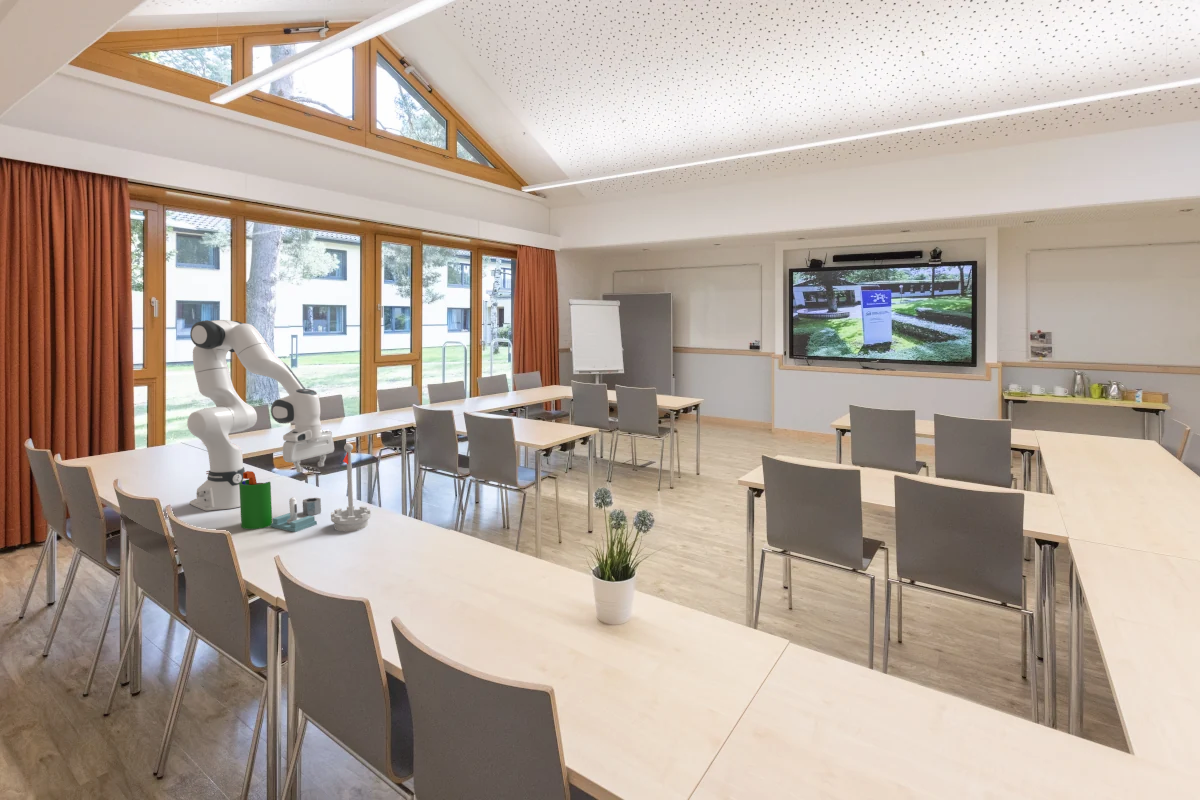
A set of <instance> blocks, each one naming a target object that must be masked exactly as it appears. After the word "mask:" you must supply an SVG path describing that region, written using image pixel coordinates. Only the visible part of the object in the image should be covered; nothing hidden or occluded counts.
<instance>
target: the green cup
mask: <svg viewBox="0 0 1200 800" xmlns="http://www.w3.org/2000/svg"><path fill="white" fill-rule="evenodd" d="M243 479H246V480H244V481H241V482H240V483H239V489H240V523H241V524H240V526H241V529H245V530H257V529H259V530H260V529H262V528H267V527H271V523H273V512H272V509H273V508H272V491H271V490H272V487H271V481H267V482H257V477H256V474H255V472H254V471H251V470H250V471H249V470H247V471H246V470H245V472H244V473H243Z"/></svg>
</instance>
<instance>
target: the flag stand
mask: <svg viewBox="0 0 1200 800" xmlns="http://www.w3.org/2000/svg"><path fill="white" fill-rule="evenodd" d="M343 448H344V449H343V450H344V451H345V452H346V454H345V456H344V458H343V460H342V462H343V463H345V464H346V476H347V477H346V479H347V500H348V503H347V504H348V506H346V509H344V510H342V508H336V509H334V511H333V512H332V511H331V512H330V520H331V522H332V523H333V524H334V530H336V531H339V532H353V531H359V530H362V529H365V528H366V527H367V526H368V525H369V519H370V518H371V515H372V514H371V508H368V507H367V506H363V505H361V506H359V508H355V506H354V497H353V494H354V491H353V471H352V469H353V466H352V451H353V449H354V446H353V444H351V443H349V442H348V443H345V444H344V447H343Z"/></svg>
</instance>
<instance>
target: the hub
mask: <svg viewBox="0 0 1200 800" xmlns="http://www.w3.org/2000/svg"><path fill="white" fill-rule="evenodd" d="M321 513H322V502H321V498H319V497H307V498H305V499H303V500H302V515H303V516H306V517H307V516H316V515H319V514H320V515H321Z"/></svg>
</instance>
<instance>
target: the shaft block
mask: <svg viewBox="0 0 1200 800" xmlns="http://www.w3.org/2000/svg"><path fill="white" fill-rule="evenodd" d="M297 505H298V504H297V499H296V497H290V499H289V512H288V513H285V514H283V515H281V514H280V515H279V516H275V517H272V523H271V526H270V527H271V528H275V529H280V530H285V531H288V532H293V533H296V532H300V531H302V530H305V529H308V528H311V527H314V526H316V525H318V524H317V521H316V519H315V518H316V517H315V515H310V516H307V515H306V516H304V517H299V516H298V506H297Z"/></svg>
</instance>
